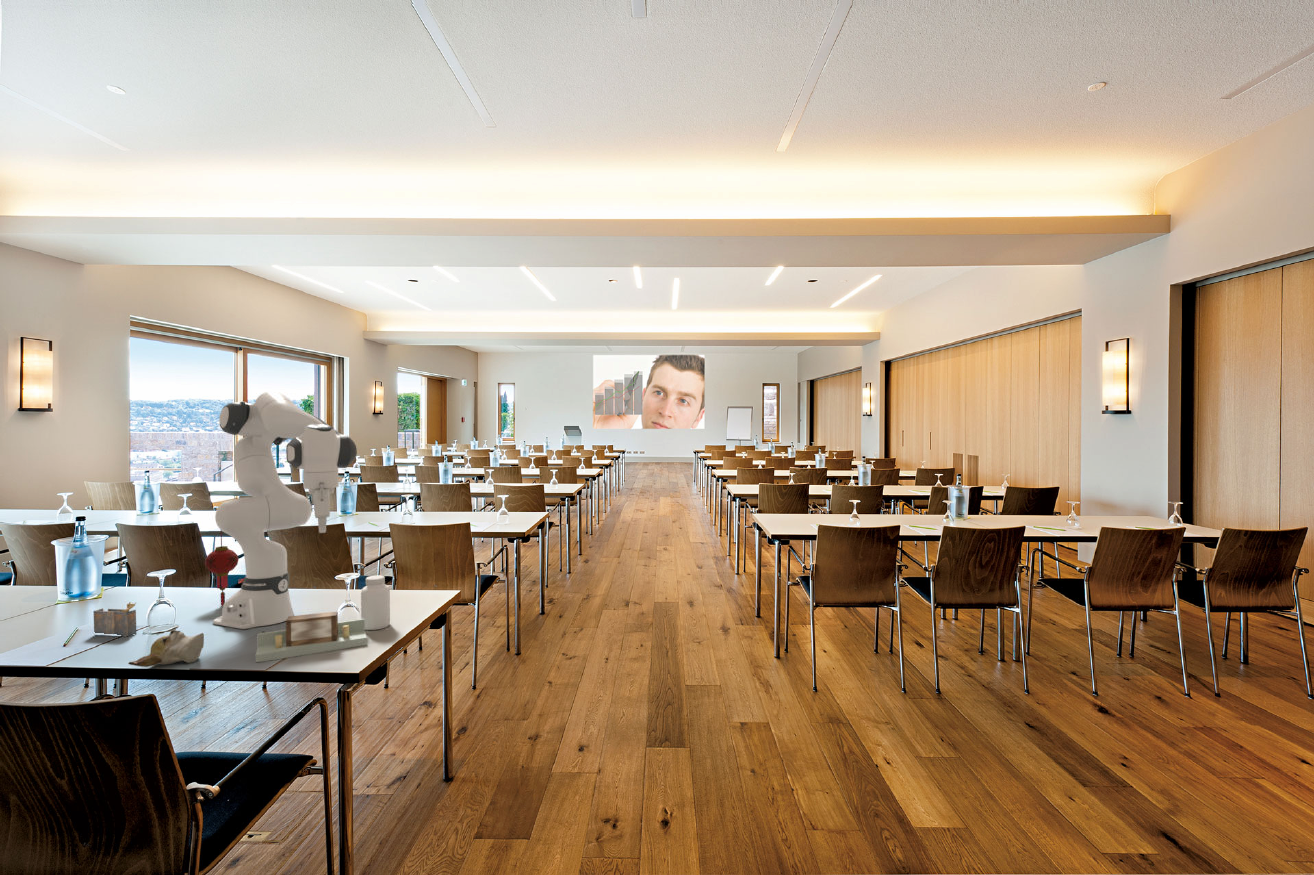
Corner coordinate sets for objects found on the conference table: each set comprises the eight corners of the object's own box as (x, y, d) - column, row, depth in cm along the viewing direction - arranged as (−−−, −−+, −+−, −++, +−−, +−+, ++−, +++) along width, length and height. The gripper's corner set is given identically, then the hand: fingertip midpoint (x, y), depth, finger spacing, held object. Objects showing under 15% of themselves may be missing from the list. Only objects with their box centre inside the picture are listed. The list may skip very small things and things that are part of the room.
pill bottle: (379, 631, 186) (378, 580, 186) (355, 629, 188) (354, 579, 187) (395, 623, 194) (394, 574, 193) (372, 621, 195) (371, 573, 195)
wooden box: (286, 646, 168) (285, 620, 168) (289, 642, 172) (288, 616, 172) (336, 640, 172) (336, 615, 172) (338, 636, 176) (337, 611, 176)
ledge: (255, 662, 162) (255, 642, 162) (258, 652, 169) (257, 633, 169) (366, 644, 175) (366, 626, 175) (364, 636, 182) (364, 618, 182)
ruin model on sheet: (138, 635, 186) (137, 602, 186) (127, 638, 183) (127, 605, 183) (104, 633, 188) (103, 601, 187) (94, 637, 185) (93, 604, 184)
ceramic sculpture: (191, 633, 159) (124, 641, 156) (194, 667, 159) (127, 676, 156) (213, 621, 169) (150, 628, 167) (216, 652, 169) (153, 660, 167)
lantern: (198, 608, 211) (196, 519, 210) (223, 600, 220) (221, 515, 219) (222, 610, 209) (219, 520, 208) (246, 602, 218) (244, 515, 217)
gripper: (334, 483, 172) (335, 534, 172) (332, 478, 190) (333, 524, 190) (308, 485, 169) (309, 536, 169) (308, 479, 187) (309, 526, 187)
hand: (322, 530), depth 180 cm, fingers open, 8 cm apart
